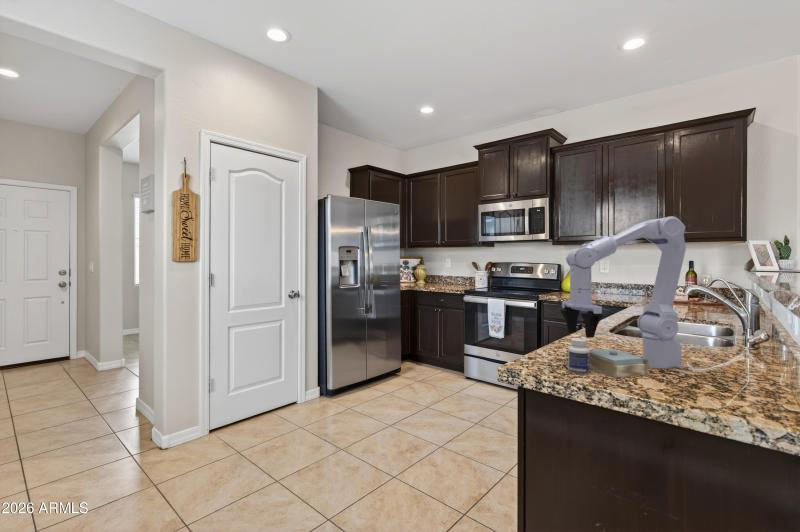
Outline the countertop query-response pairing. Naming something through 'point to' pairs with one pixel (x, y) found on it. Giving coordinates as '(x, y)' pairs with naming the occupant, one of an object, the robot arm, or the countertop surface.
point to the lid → (617, 357)
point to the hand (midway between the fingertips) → (580, 334)
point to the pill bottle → (578, 356)
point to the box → (617, 367)
